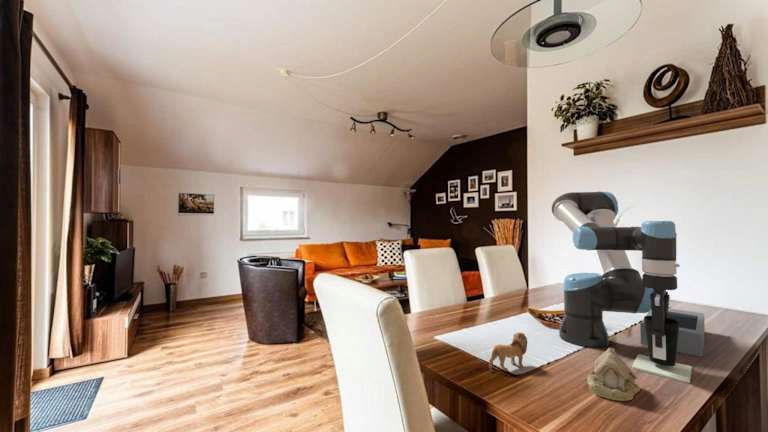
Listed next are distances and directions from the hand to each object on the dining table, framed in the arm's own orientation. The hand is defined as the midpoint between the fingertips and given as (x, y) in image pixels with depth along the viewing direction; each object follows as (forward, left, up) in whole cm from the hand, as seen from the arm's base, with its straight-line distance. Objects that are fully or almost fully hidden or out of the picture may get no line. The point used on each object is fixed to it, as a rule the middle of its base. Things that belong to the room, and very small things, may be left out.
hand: (661, 353), depth 91 cm
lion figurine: (-31, -29, -4) cm, 43 cm away
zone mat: (0, 0, -4) cm, 4 cm away
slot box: (+1, +35, -4) cm, 35 cm away
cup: (0, 0, -2) cm, 2 cm away
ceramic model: (-7, -23, -4) cm, 24 cm away
